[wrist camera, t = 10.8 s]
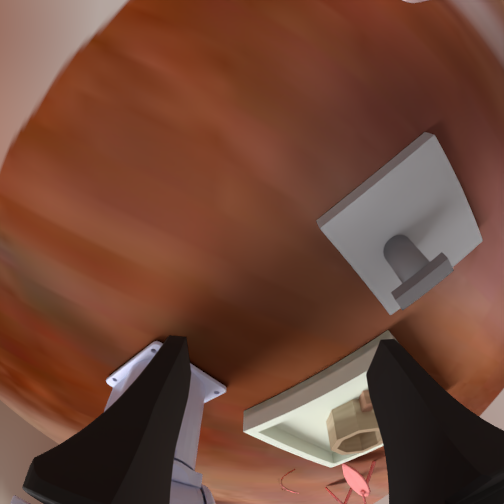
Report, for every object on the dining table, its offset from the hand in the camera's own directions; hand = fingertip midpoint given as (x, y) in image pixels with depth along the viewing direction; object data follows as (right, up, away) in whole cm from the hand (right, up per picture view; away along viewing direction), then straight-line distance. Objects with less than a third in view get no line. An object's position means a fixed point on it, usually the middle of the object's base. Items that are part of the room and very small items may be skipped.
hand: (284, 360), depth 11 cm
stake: (+9, +6, +8) cm, 13 cm away
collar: (+9, -13, +16) cm, 23 cm away
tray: (+9, -12, +17) cm, 23 cm away
